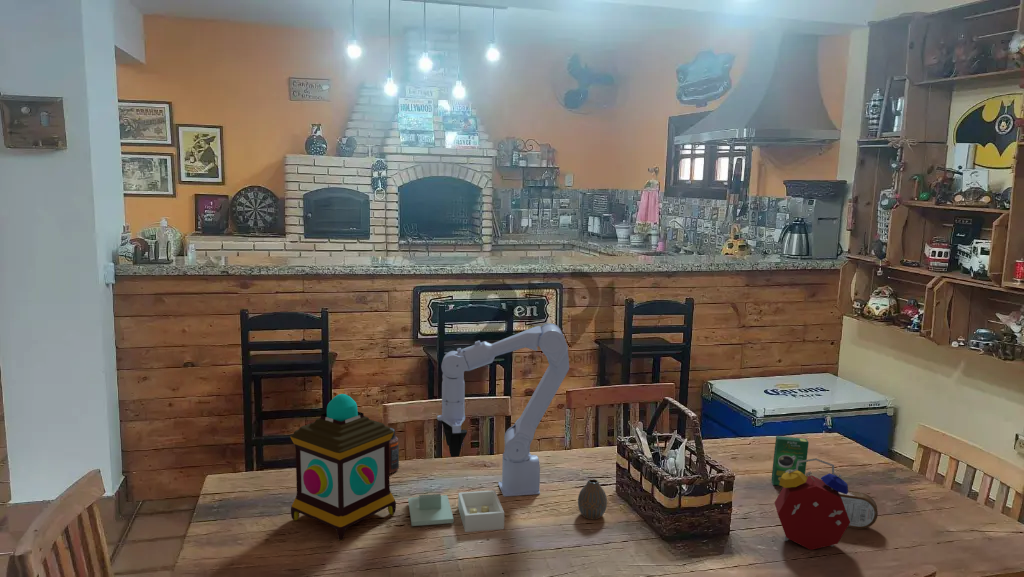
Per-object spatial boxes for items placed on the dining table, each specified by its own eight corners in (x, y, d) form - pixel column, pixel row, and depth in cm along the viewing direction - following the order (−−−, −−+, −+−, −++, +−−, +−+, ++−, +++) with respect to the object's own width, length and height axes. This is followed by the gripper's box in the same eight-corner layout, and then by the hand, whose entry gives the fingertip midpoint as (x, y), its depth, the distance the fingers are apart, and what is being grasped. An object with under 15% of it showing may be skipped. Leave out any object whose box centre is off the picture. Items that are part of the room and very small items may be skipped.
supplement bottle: (401, 466, 199) (401, 427, 198) (395, 474, 193) (395, 434, 192) (380, 464, 200) (379, 425, 198) (374, 473, 194) (373, 433, 192)
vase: (610, 512, 174) (611, 478, 173) (601, 524, 168) (602, 489, 166) (583, 506, 177) (584, 473, 175) (573, 518, 171) (574, 483, 169)
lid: (447, 501, 178) (447, 483, 178) (453, 525, 166) (453, 506, 166) (408, 503, 177) (408, 486, 176) (411, 528, 164) (411, 509, 164)
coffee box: (802, 484, 192) (806, 437, 190) (805, 488, 189) (809, 441, 187) (771, 481, 194) (774, 434, 192) (772, 485, 191) (776, 438, 189)
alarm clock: (841, 540, 162) (849, 456, 159) (849, 560, 154) (858, 471, 151) (771, 532, 166) (778, 449, 162) (776, 551, 157) (783, 464, 154)
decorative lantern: (347, 491, 183) (345, 377, 178) (404, 513, 172) (404, 392, 167) (281, 521, 167) (277, 396, 162) (339, 547, 156) (337, 414, 151)
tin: (875, 527, 169) (878, 493, 168) (877, 533, 166) (880, 498, 165) (806, 516, 174) (809, 483, 173) (806, 522, 171) (809, 488, 170)
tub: (494, 505, 177) (495, 490, 176) (504, 528, 165) (504, 512, 164) (458, 508, 175) (458, 492, 174) (465, 532, 163) (465, 515, 163)
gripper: (434, 391, 188) (434, 441, 190) (440, 409, 174) (440, 462, 176) (461, 390, 189) (461, 439, 191) (469, 407, 175) (468, 460, 177)
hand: (453, 450), depth 184 cm, fingers open, 7 cm apart
